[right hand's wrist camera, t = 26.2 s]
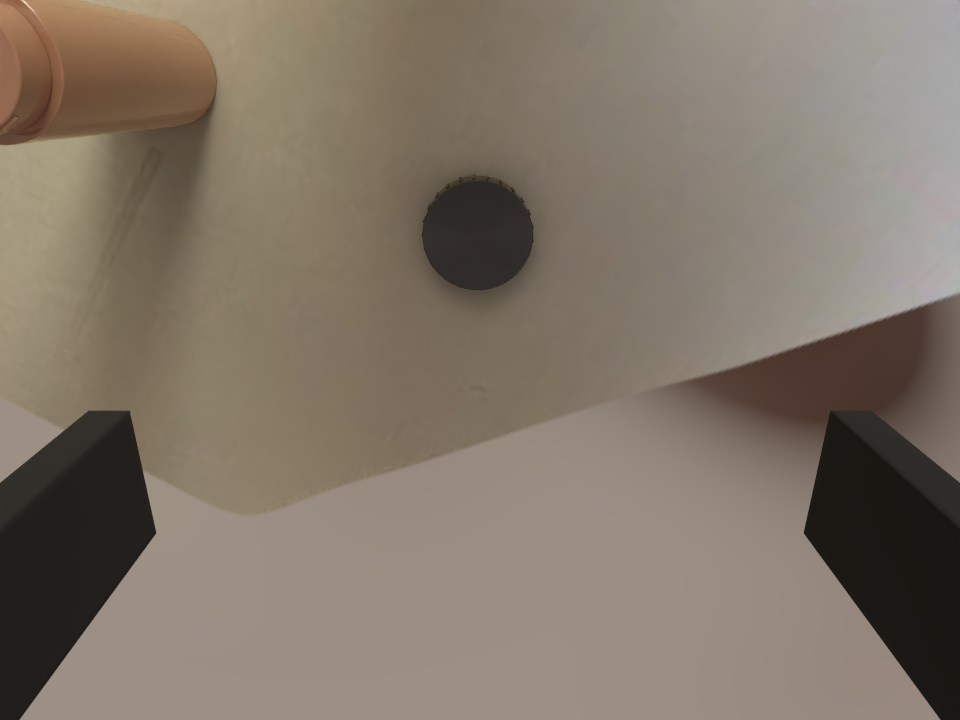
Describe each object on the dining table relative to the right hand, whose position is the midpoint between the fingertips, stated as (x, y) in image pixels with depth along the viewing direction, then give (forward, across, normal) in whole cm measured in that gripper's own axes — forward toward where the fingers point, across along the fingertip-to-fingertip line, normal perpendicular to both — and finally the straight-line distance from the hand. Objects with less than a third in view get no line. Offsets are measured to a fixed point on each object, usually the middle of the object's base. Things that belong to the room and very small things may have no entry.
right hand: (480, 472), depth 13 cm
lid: (+24, 0, 0) cm, 24 cm away
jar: (+26, +16, -8) cm, 31 cm away
